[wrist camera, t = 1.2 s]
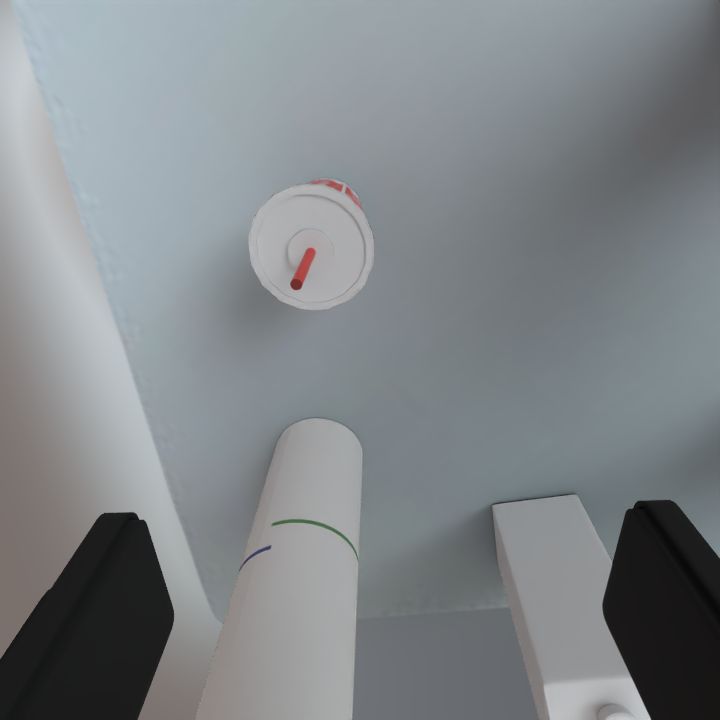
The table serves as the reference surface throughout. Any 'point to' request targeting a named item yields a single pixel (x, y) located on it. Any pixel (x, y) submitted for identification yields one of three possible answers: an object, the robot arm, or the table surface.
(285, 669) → the cylindrical container
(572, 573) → the milk carton
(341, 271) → the beverage cup
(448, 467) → the table surface
